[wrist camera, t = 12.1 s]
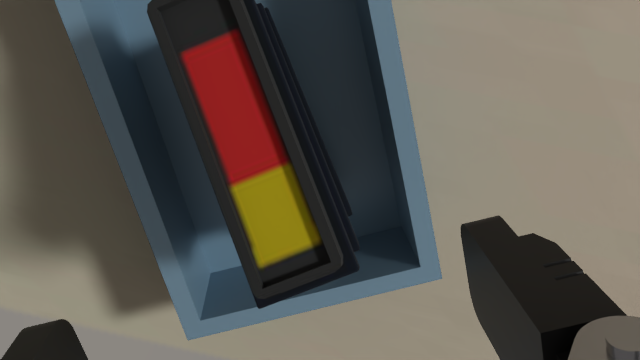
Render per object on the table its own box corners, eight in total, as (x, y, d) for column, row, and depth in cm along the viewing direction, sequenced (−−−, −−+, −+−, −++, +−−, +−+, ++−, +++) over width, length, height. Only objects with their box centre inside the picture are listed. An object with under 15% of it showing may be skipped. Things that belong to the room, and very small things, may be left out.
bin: (74, -69, 29) (24, -77, 23) (344, -139, 28) (360, -165, 23) (202, 282, 36) (187, 340, 31) (416, 229, 36) (442, 278, 30)
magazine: (307, 268, 33) (250, 316, 18) (228, 63, 34) (114, -49, 20) (367, 245, 33) (358, 274, 18) (285, 38, 34) (214, -94, 19)
